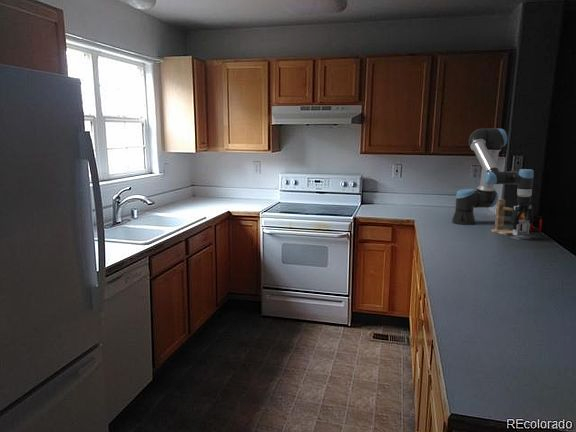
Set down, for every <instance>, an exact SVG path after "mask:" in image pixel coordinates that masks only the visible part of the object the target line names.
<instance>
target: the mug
mask: <svg viewBox="0 0 576 432" xmlns="http://www.w3.org/2000/svg"><path fill="white" fill-rule="evenodd" d="M534 214H535V212H534V211H533V220H534V219H536V220H537V219H538V220H539V226H538V227H537V226H536V227H535V226H533V223H534V221H533V222H532V223H530V228H529V233H530V232H532V231H534V230H535V231H542V227H543V226H542V225H543V223H542V221H543V216H542V215H540V216H539V215H534ZM519 220H525V216H524V213H522V214H521V216H520V219H519ZM522 225H523V224H521V227H520V231H522Z"/></svg>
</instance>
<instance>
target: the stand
mask: <svg viewBox="0 0 576 432" xmlns="http://www.w3.org/2000/svg"><path fill="white" fill-rule="evenodd" d="M495 206H496V207H495V208H496V209H495V220H494V222H495V223H494V228H492V229H490V232H493V233H496V234H501V235H505V236H510V235H511V236H512V235H513V229H508V228H504V222H505V214H506V213H505V212H506V211H508V212H513V207H508V206H506V199H498V200H497V203H496V205H495Z"/></svg>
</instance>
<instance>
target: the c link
mask: <svg viewBox="0 0 576 432" xmlns="http://www.w3.org/2000/svg"><path fill="white" fill-rule="evenodd" d="M518 224H519V225H518V235H517V236H521V235H522V236H523V235H529V234H528V229H529V220H519V221H518ZM521 224H523V225H522V231H520V227H521Z"/></svg>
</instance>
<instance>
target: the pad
mask: <svg viewBox="0 0 576 432" xmlns="http://www.w3.org/2000/svg"><path fill="white" fill-rule="evenodd" d="M510 239H514V240H517V241H520V240H529V239H531V237H529V236H525V235H523V234H522V235H513V236H510Z"/></svg>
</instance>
